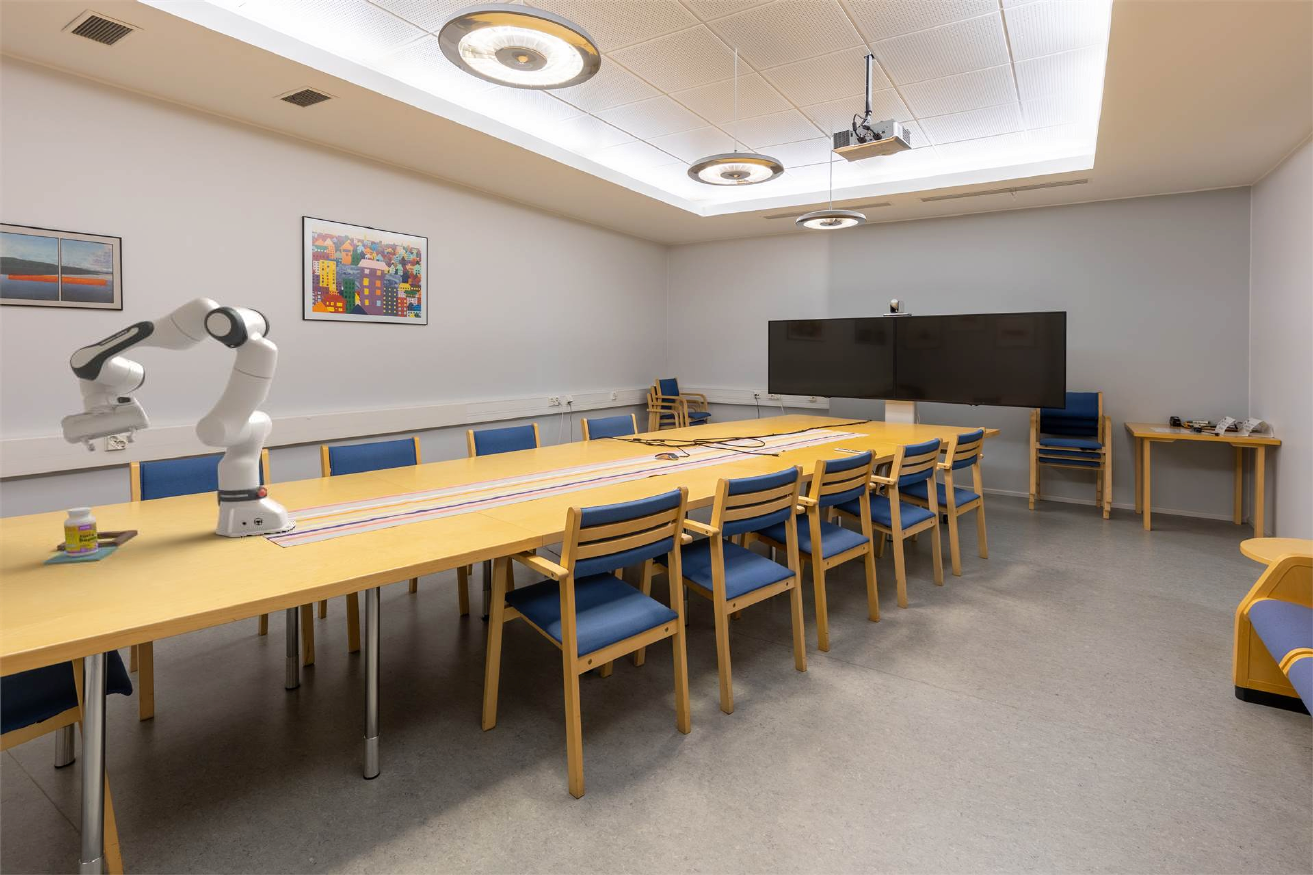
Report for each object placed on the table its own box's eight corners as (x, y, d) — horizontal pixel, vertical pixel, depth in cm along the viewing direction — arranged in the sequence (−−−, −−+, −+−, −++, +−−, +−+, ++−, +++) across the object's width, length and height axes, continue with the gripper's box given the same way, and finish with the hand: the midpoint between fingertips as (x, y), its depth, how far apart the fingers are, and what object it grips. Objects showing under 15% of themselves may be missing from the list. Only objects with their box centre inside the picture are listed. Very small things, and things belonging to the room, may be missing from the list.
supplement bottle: (79, 558, 174) (75, 512, 172) (60, 556, 175) (55, 510, 174) (104, 551, 180) (101, 507, 179) (86, 549, 182) (82, 505, 180)
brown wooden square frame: (137, 534, 200) (137, 529, 200) (117, 546, 187) (117, 541, 187) (82, 537, 195) (81, 533, 195) (57, 550, 182) (57, 545, 182)
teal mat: (118, 548, 185) (118, 546, 185) (98, 560, 174) (98, 558, 174) (67, 551, 181) (66, 549, 181) (43, 564, 170) (43, 562, 170)
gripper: (55, 411, 188) (62, 450, 183) (140, 395, 198) (149, 431, 193) (64, 423, 193) (71, 460, 188) (147, 407, 203) (155, 442, 198)
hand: (111, 446), depth 191 cm, fingers open, 8 cm apart
